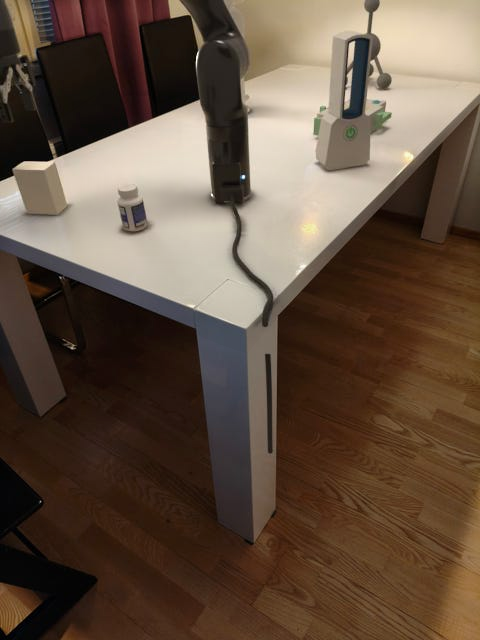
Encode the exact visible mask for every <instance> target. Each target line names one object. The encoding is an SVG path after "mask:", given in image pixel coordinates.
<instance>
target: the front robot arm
mask: <svg viewBox="0 0 480 640" xmlns="http://www.w3.org/2000/svg"><path fill="white" fill-rule="evenodd" d="M179 2H180V3H181V4H182V5H183V6H184V8H185V9H186V11H187V12H188V13H189V14H190V16H191V18H192V19H193V22H194V24H195V25H196V27H197V29H198V32H199V35H200V34H201V35H200V38H201V39H202V42H203V44H202V45H201V46H200V47H199V49H198V51H197V54H196V61H195V72H196V81H197V89H198V96H199V97H198V98H199V103H200V104H199V105H200V108H201V111H202V113H203V114H204V122H205V132H206V144H207V155H208V166H209V167H208V168H209V179H210V189H211V193H210V195H211V200H212V201H214V203H215V204H216V205H230V207H231V210H232V213H233V215H234V217H235V222H236V233H235V234H236V235H235V237H234V240H233V243H232V247H231V248H232V249H231V253H232V256H233V258H234V260H235V262H236V264H237V265H238V266H239V267H240V269H242V271H243V272H244V273H245V275H246V276H247V277H248V278H249V279H251V281H253V282H254V283H256V284H257V285H258V286H259V287H260V288H261V289H263V290H264V292H265V294H266V297H267V300H266V302H265V304H264V306H263V309H262V315H261V316H262V317H261V324H262V327H263V328H267V327H268V326H269V312H270V310H271V307H272V305H273V302H274V294H273V291H272V289H271V288H270V287H269V285H268V284H267V283H266V282H265V281H263V280H262V279H261V278H259V277H258V276H256V274H254V272H252V270H250V268H249V267H248V266H247V265H246V264H245V262H243V260H242V259H241V258H240V256H239V253H238V246H239V243H240V240H241V235H242V226H243V225H242V220H241V216H240V213H239V211H238V209H237V206H236V205H242V204H243V202H246V201H248V200H250V198H251V196H252V190H251V165H250V162H251V161H250V138H249V135H250V134H249V112H248V109H247V107H246V105H247V104H246V103H245V104H243V102H242V95H241V79H242V78H243V77H244V78H245V76H247V74H248V72H249V69H250V65H251V55H250V50H249V47H248V45H247V42H246V40H245V38H244V39H243V37H242V35H241V33H240V31H239V29H238V27H237V25H236V24H235V22H234V20H233V18H232V16H231V14H230V12H229V10H228V8H227V6H226V4H225V2H224V0H179ZM14 25H15V24H14V22H13V18H12V15H11V12H10V8H9V6H8V4H7V2H6V0H0V94H1V95H0V119H1V121H2V122H3V123H4V124H11V123H13V122H14V121H15V119H14V115H13V113H12V109H11V107H10V103H9V102H8V97H9V93H10V92H11V87H13V86H15V87H16V88H17V90H19V93H20V98H21V101H22V104H23V107H24V110H25V111H26V112H34V111H36V103H35V100H34V95H33V93H32V92H33V87H35V86H37V82H36V78H35V75H34V71H33V69H32V66H31V63H30V59H29V56H28V55H27V54H21V47H20V42H19V39H18V35H17V33H16V29H15V26H14ZM264 362H265V388H266V428H267V429H266V431H267V433H266V434H267V435H266V436H267V437H266V438H267V453H268V454H269V455H271V454H273V452H274V451H273V446H274V445H273V443H274V442H273V382H272V381H273V379H272V377H273V376H272V355H271V353H264Z"/></svg>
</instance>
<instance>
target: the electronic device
mask: <svg viewBox="0 0 480 640" xmlns="http://www.w3.org/2000/svg"><path fill="white" fill-rule="evenodd" d="M353 42H354V48H353V60H352V61H353V68H352V69H351V70H352V72H351V84H350V95H349V99H350V105H349V108H347V109H345V110H344V103H345V101H346V89H347V85H346V77H348V74H347V68H348V64H349V63H348V62H349V53H350V52H349V51H350V50H349V49H350V44H351V43H353ZM372 42H373V37H371V36H369V35H366V34H365V33H362V32H358V31H355V30H343V31H340V32H338V33H336V34H334V35H333V36H332V43H331V44H332V46H331V47H332V48H331V61H330V78H329V95H328V107H329V110H328V112H327V113H326V114H325V115H324V116H323V117H322V119H321V124H320V129H319V135H317V140H316V146H315V160H317V161H318V162H319V163H320V165H322V166H323V167H324V168H326V169H327V170H328V171H333V170H341V169H346V168H353V167H354V168H355V167H359V166H365V165H366V164H368V162H369V161H370V159H371V133H370V129H371V119H370V118H369V117H368V116H367V115H366V114H365V109H366V99H368V98H367V97H368V90H369V89H368V88H369V79H370V77H369V70H370V63H371V62H372V61H371V51H372Z"/></svg>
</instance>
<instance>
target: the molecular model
mask: <svg viewBox="0 0 480 640" xmlns="http://www.w3.org/2000/svg"><path fill="white" fill-rule="evenodd" d="M380 4H381V1H380V0H364V3H363V6H364V10H365V11H366V12H367V13H368V20H367V29H366V30H367V31H366V33H364V34H366V35H369V36H371V37H373V42H372V51H371V61H370V70H369V78H370V77H372V76H373V74H374V72H375V71H374V70H375V68H374V65H373V64H372V63H371V62H372V61H374V63H375V66H376V69H377V71H378V74H379V75H378V76H377V78H376V85H377V87H378V88H380V89H381V90H385V89H387V88H389V87H390V86H391V84H392V82H393V78H392V76H391V74H390V73H388V72H384V71H383V68H382V66H381V63H380V60H379V57H378V55H380V51H381V45H382V44H381V40H380V38H379V37H378V35H377V34H375V33H372V28H373V17H374V13H375V12H376V11H378V10H379V8H380ZM351 70H353V60H352V61H351V62H350V64H349V66H347V75H348V74H349V73H350V72H351ZM348 82H349V77H348V76H347V77H346V86H347V85H348Z"/></svg>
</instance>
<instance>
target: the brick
mask: <svg viewBox="0 0 480 640" xmlns="http://www.w3.org/2000/svg"><path fill="white" fill-rule="evenodd" d="M12 173H13V176H14V179H15V183H16V185H17V189H18V191H19V194H20V196H21V201H22V202H23V205H24V209H25V211H26V214H28V215H50V216H59V214H60V213H62V211H64V210H65V209H66V208H67V207H68V203H67V199H66V196H65V191H64V188H63V185H62V182H61V178H60V175H59V170H58V168H57V164H56V162H55V161H33V160H32V161H30V160H29V161H23V162H20V163H19V164H18V165H16V166H15V167H13V168H12Z"/></svg>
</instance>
